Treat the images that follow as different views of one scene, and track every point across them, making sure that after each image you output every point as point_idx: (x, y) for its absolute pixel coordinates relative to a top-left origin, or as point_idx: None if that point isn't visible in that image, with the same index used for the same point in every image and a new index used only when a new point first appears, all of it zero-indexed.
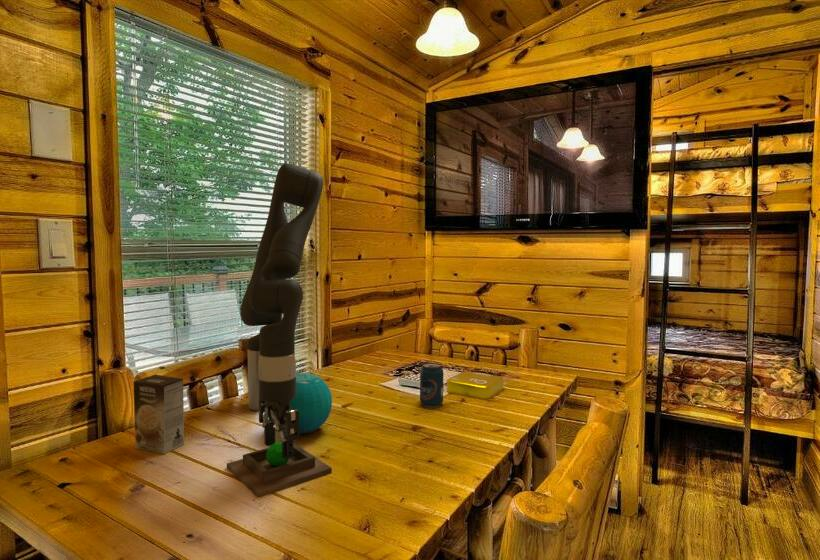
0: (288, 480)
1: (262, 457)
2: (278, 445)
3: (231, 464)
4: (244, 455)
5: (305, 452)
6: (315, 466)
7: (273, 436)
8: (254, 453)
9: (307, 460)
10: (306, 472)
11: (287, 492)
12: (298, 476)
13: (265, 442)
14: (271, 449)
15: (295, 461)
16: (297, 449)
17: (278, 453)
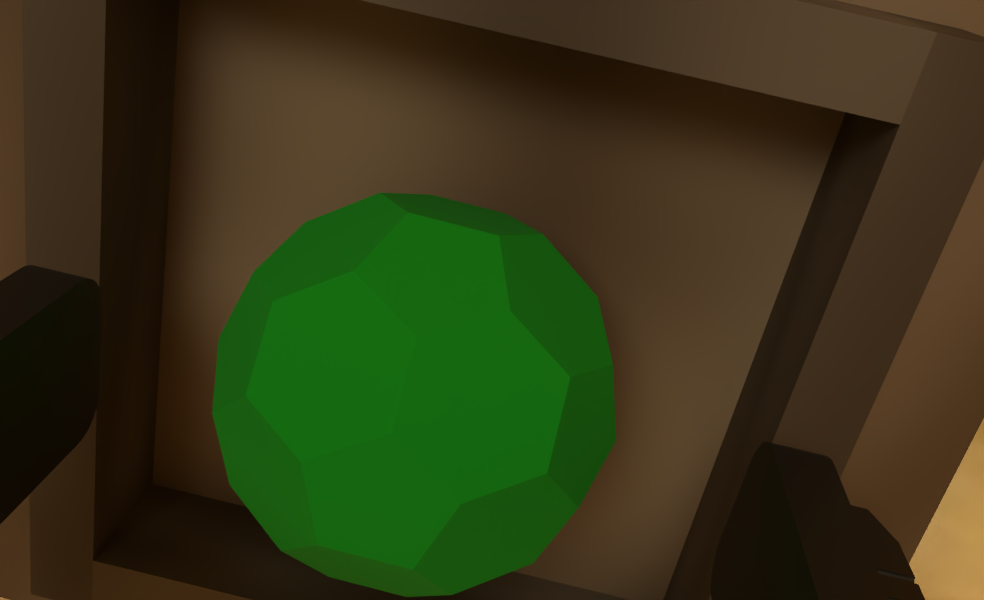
0: (892, 503)
1: (142, 358)
2: (446, 542)
3: (28, 583)
4: (67, 598)
5: (686, 2)
6: (957, 11)
7: (8, 365)
8: (88, 497)
9: (959, 206)
10: (960, 236)
11: (976, 561)
12: (934, 373)
13: (54, 464)
14: (398, 587)
15: (809, 358)
16: (450, 7)
17: (549, 541)
